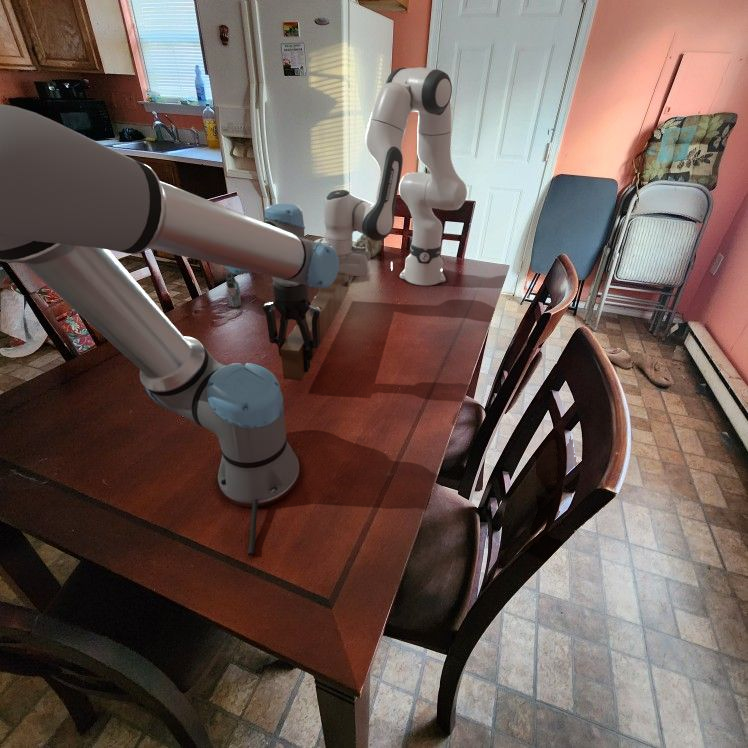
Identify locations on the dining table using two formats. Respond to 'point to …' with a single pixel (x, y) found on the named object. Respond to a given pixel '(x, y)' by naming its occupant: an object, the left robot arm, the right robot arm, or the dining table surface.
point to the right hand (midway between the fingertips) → (339, 285)
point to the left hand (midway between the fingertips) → (297, 367)
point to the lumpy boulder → (369, 244)
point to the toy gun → (233, 290)
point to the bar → (294, 344)
